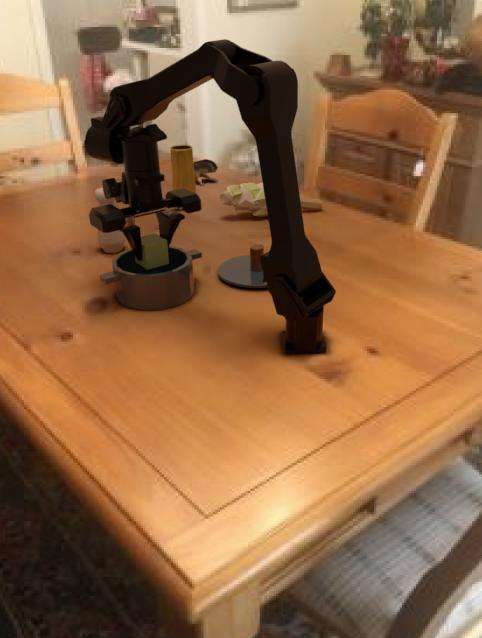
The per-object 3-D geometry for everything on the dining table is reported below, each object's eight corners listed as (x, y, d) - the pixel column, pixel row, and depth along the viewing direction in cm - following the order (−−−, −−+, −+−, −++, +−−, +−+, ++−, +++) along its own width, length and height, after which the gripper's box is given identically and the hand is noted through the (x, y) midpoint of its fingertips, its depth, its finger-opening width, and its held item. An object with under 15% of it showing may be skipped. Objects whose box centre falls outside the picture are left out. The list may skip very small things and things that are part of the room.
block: (169, 263, 110) (167, 240, 108) (147, 269, 108) (144, 245, 106) (157, 256, 113) (154, 233, 111) (135, 262, 111) (132, 238, 109)
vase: (170, 204, 157) (165, 146, 149) (192, 201, 159) (188, 143, 151) (178, 211, 152) (173, 151, 145) (201, 207, 154) (197, 148, 147)
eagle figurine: (192, 185, 167) (221, 174, 169) (181, 160, 166) (211, 149, 168) (187, 193, 174) (215, 183, 176) (176, 169, 173) (205, 159, 176)
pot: (220, 291, 114) (219, 258, 110) (124, 322, 104) (119, 287, 101) (181, 267, 123) (179, 236, 120) (90, 293, 114) (84, 260, 110)
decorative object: (311, 199, 156) (214, 188, 149) (327, 178, 147) (225, 165, 140) (314, 231, 154) (216, 221, 146) (330, 212, 145) (227, 200, 137)
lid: (312, 277, 118) (313, 249, 115) (248, 298, 111) (247, 269, 108) (264, 253, 129) (264, 227, 126) (203, 271, 121) (201, 244, 118)
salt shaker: (93, 251, 131) (83, 190, 124) (110, 242, 135) (102, 182, 128) (115, 256, 129) (107, 194, 122) (132, 247, 133) (124, 186, 126)
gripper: (167, 149, 112) (174, 232, 120) (68, 167, 102) (84, 256, 111) (200, 161, 104) (205, 249, 112) (97, 181, 95) (111, 276, 103)
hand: (151, 257), depth 110 cm, fingers open, 5 cm apart
